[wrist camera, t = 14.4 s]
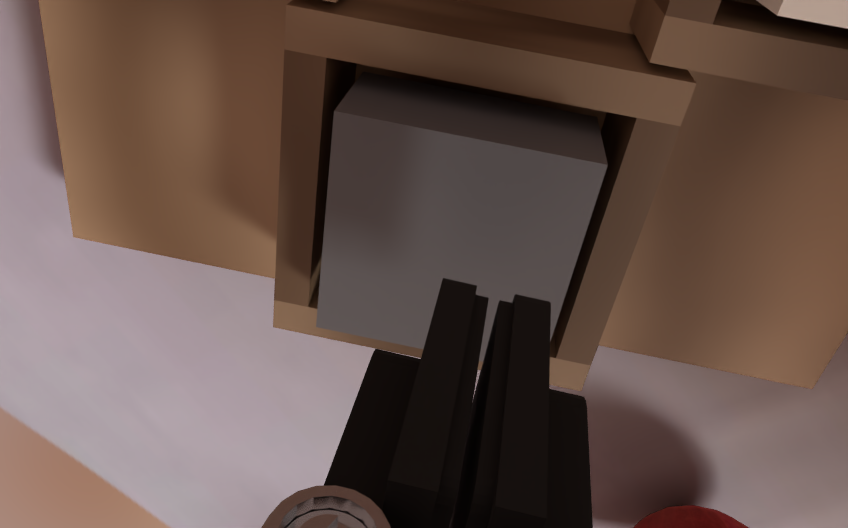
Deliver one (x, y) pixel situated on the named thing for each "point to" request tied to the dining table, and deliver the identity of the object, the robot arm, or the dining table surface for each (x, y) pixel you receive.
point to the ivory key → (811, 10)
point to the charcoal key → (450, 204)
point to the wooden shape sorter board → (503, 78)
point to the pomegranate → (688, 518)
